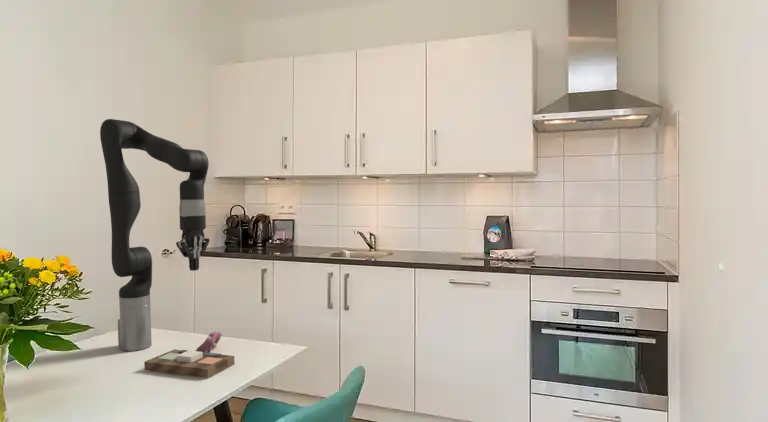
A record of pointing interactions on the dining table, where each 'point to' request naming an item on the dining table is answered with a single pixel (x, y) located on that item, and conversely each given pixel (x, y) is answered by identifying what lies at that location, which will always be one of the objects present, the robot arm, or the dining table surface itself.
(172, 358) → the key sage
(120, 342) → the robot arm
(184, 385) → the dining table surface
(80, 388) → the dining table surface
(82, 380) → the dining table surface
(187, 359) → the key ivory
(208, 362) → the key terracotta
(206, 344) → the video game controller
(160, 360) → the brown wooden flat block
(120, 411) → the dining table surface
